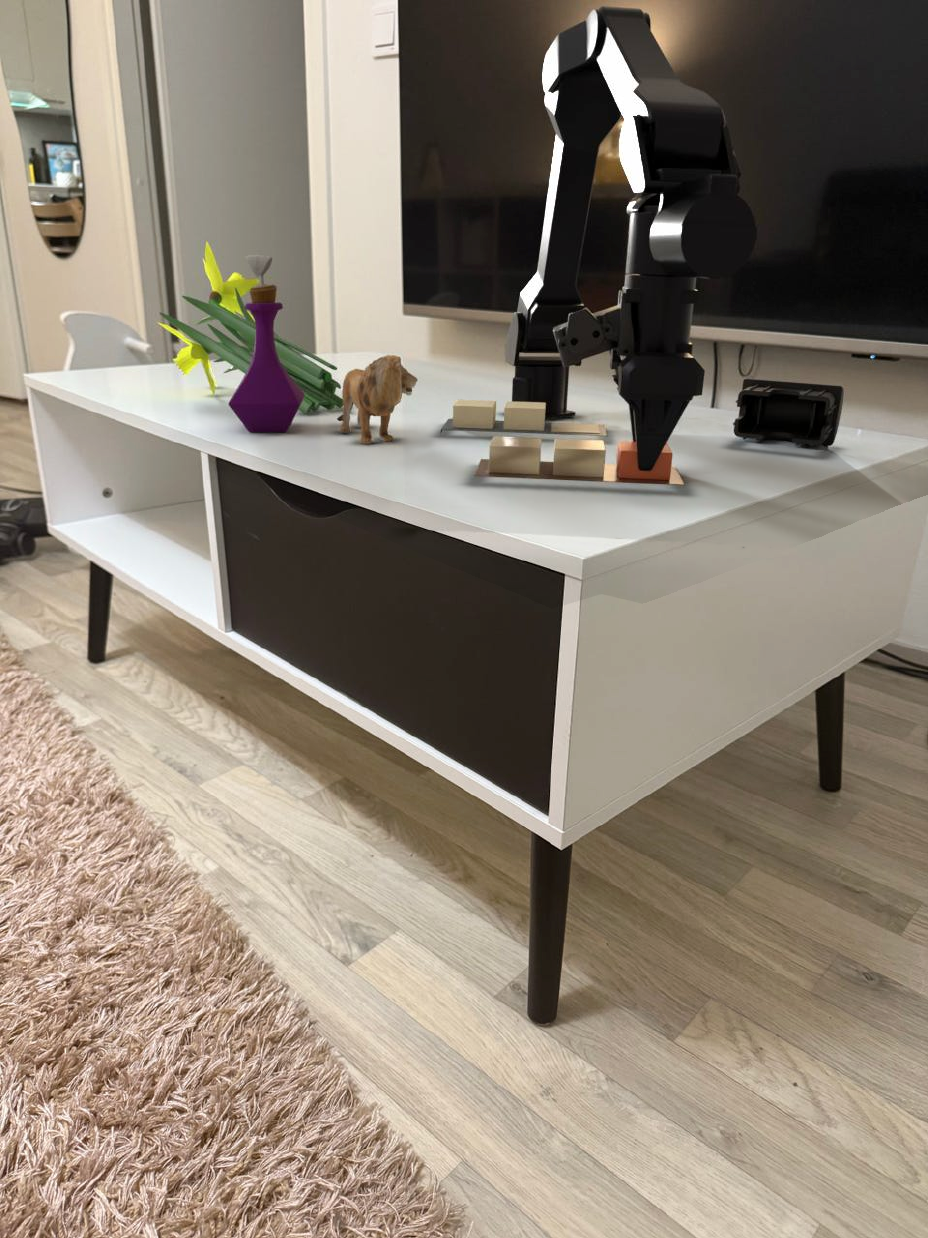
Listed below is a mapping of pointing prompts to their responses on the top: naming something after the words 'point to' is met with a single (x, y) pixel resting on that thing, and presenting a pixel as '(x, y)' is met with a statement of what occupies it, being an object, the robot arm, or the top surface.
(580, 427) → the word board
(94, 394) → the top surface
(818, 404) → the end cap
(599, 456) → the word board
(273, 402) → the perfume bottle
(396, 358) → the lion figurine
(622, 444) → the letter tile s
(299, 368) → the daffodil flowers
